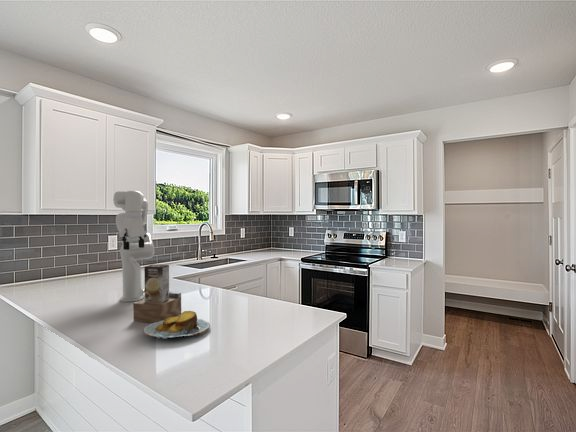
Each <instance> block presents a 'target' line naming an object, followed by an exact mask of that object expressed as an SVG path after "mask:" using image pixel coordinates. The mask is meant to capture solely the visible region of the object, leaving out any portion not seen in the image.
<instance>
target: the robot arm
mask: <svg viewBox="0 0 576 432" xmlns="http://www.w3.org/2000/svg"><path fill="white" fill-rule="evenodd" d="M144 197H145V195H144V194H143V193H142V192H141V191H138V190H128V191H123V190H122V191H115V192H114V194H113V205H114V206H115V208H119V209H122V210H123V212H120V213H118V214H117V215H116V216H115V226H116V229H117V230H118V236H119V237H120V239H121V241H122V242H121V243H122V245H121V246H120V249H119V254H120V259H121V267H122V270H121V271H122V272H121V273H122V296H121V297H119V302H122V303H130V302H132V303H133V302H139V301H141V300H144V299H145V288H144V289H143V288H142V285H143V284H142V267H141V265H140V263H138V262H137V261H138V260H139V261H140V260H149V259H152V258H153V257H154V256H155V252H156V251H155V246H154V245H155V244H154V241H153V238H152V234H150V233H149V232H148V231H147V230H146V229H145V228H144V226H145V225H146V224H147V221H148V212H149V204H148V201H147V199H146V198H144Z"/></svg>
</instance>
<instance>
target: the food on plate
mask: <svg viewBox="0 0 576 432" xmlns="http://www.w3.org/2000/svg"><path fill="white" fill-rule="evenodd" d="M209 328H211V324H210V322H209V321H206V320H204V319H199V318H198V315H197V312H195V311H193V310H185V311H183V312H181V314H180V315H178V316H175V317H169V318H167V319H165V320H163V321H159V322H155V323H148V325H145V327H144V328H143V332H144V333H143V334H144V336H145V335H146V336H148V337H153V338H157V339H160V338H162V339H164V340H165V339H168V338H176V337H178V338H179V337H183V336H184V337H191V336H196V335H198V334H199V335H201V334H205V331H207V330H208V329H209Z"/></svg>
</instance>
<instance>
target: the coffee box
mask: <svg viewBox="0 0 576 432" xmlns="http://www.w3.org/2000/svg"><path fill="white" fill-rule="evenodd" d="M143 268H144V269H143V270H144V289H145V293H144V295H145V298H144V299H145V302H164V301H166V300H168V299H169V292H170V265H169V264H148V265H145V266H144V267H143Z"/></svg>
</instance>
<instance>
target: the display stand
mask: <svg viewBox="0 0 576 432" xmlns="http://www.w3.org/2000/svg"><path fill="white" fill-rule="evenodd" d="M132 303H133V302H132ZM132 306H133V307H132V308H133V310H132V311H133V322H135V323H137V322H139V323H144V324H145V323H146V324H152V323H155V322H159V321H163V320H165V319H167V318H169V317H175V316H181V314H182V293H181V292H177V291H176V292H174V291H169V299H168V300H166V301H164V302H145V298H144V299H142V300H138V301H135V302H134V303H133V304H132Z"/></svg>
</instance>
